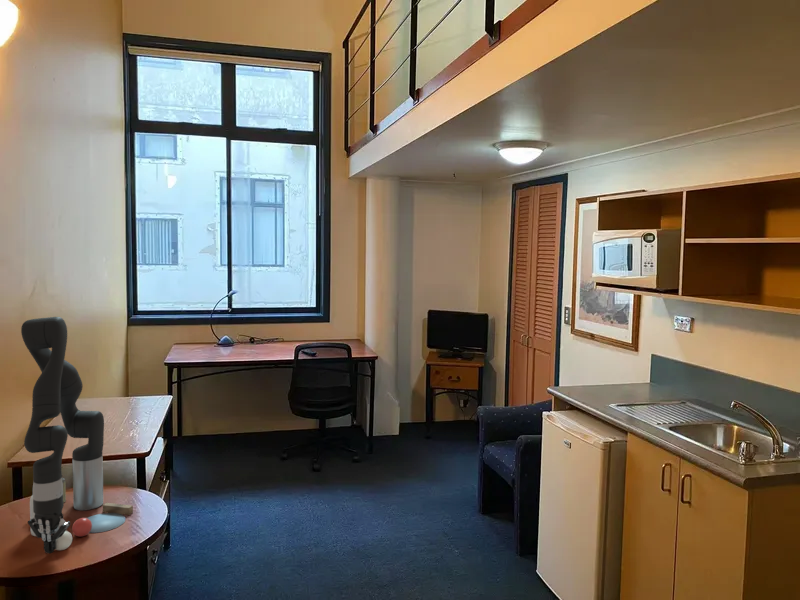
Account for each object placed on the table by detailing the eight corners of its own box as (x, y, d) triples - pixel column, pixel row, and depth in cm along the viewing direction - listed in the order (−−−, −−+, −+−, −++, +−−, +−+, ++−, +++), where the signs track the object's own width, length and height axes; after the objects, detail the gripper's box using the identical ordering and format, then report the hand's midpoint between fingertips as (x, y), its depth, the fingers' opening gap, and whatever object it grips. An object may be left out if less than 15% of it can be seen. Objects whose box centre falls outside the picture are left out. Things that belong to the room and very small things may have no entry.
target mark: (73, 520, 195) (73, 520, 195) (119, 509, 204) (119, 509, 204) (82, 537, 184) (82, 536, 184) (130, 524, 193) (130, 524, 193)
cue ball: (43, 541, 174) (57, 533, 180) (53, 557, 174) (67, 548, 179) (56, 531, 173) (70, 524, 179) (65, 547, 173) (79, 539, 178)
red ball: (70, 534, 185) (70, 517, 185) (89, 529, 189) (89, 513, 188) (74, 541, 181) (73, 524, 181) (94, 536, 185) (93, 519, 184)
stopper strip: (102, 512, 202) (102, 505, 201) (106, 509, 204) (106, 502, 203) (129, 515, 200) (129, 508, 200) (132, 512, 202) (132, 505, 201)
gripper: (17, 497, 169) (20, 555, 170) (58, 502, 166) (59, 561, 168) (38, 486, 176) (40, 542, 178) (77, 491, 174) (79, 548, 175)
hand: (50, 551), depth 173 cm, fingers closed
